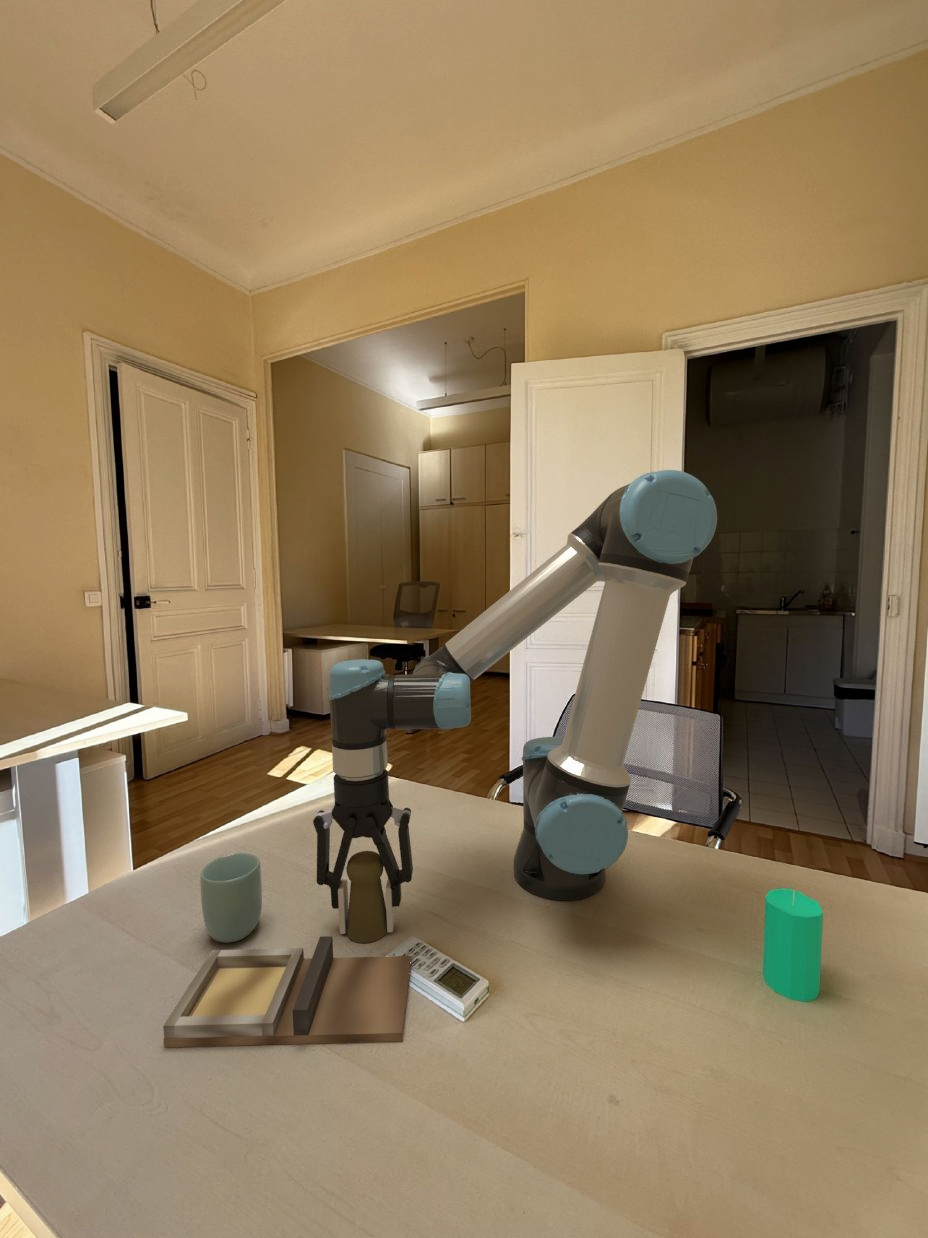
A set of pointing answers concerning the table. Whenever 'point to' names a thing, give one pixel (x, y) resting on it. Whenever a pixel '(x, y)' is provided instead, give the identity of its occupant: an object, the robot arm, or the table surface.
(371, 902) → the brown game pawn
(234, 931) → the cup
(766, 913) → the candle
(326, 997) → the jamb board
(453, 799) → the table surface
